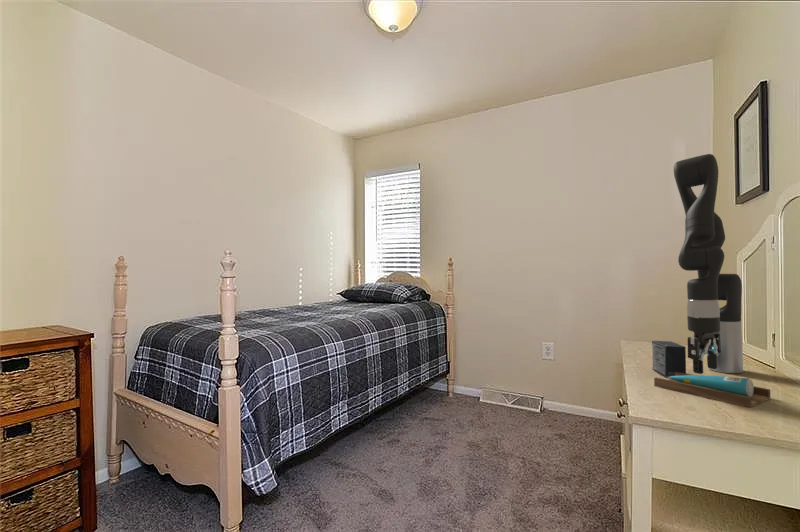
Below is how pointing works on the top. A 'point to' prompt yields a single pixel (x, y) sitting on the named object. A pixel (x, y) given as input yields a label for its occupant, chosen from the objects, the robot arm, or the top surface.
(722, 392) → the brown wooden tray
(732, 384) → the tube
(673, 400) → the top surface
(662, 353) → the small box
